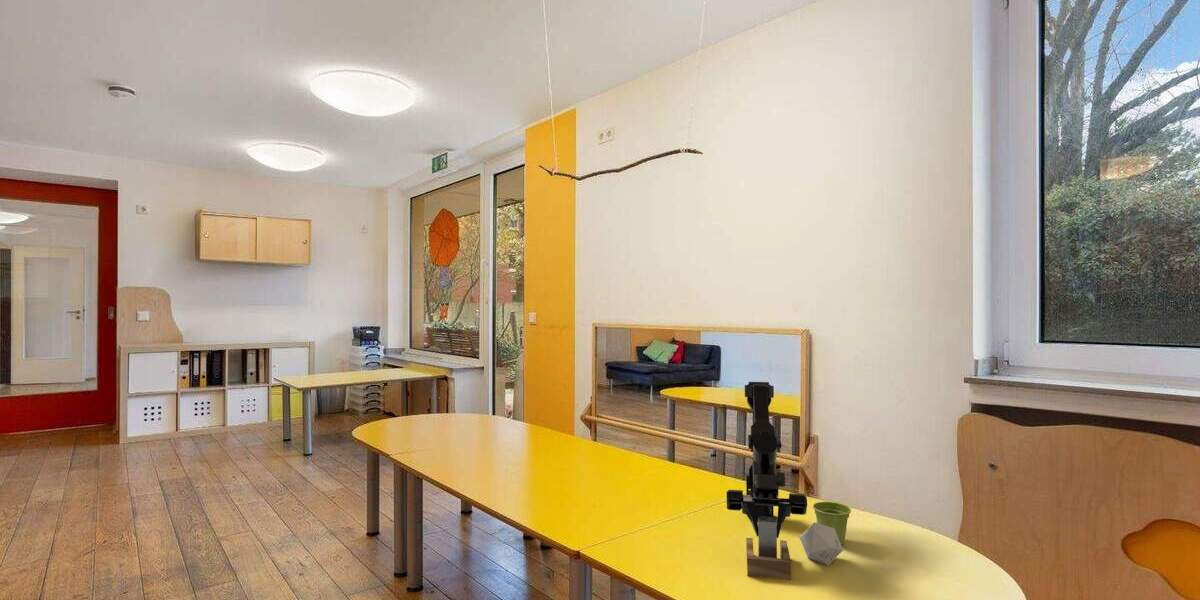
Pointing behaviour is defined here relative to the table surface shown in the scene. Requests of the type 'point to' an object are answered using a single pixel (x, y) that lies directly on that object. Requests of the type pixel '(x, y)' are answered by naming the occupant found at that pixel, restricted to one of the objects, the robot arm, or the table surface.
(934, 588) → the table surface
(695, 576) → the table surface
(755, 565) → the brown u-shaped block
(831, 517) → the plant pot
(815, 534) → the die
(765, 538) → the grey pillar with base
